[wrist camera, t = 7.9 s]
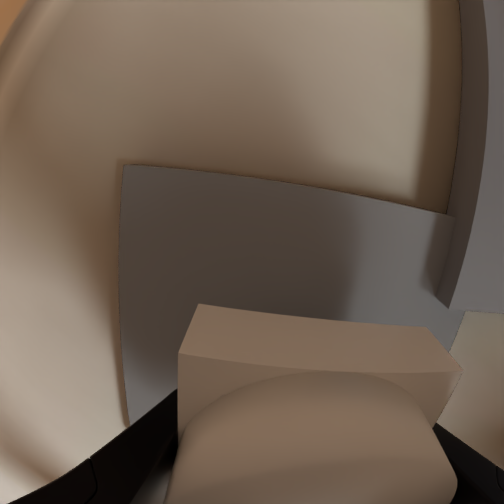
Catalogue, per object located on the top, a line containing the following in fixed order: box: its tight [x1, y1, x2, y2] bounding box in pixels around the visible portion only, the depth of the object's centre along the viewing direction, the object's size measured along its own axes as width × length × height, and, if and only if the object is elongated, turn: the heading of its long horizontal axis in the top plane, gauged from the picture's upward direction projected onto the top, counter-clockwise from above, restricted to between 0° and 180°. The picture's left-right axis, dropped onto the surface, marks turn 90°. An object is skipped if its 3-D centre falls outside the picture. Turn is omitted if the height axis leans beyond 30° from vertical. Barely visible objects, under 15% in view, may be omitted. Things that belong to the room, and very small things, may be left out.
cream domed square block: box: [163, 304, 463, 504], centre depth 6 cm, size 6×6×4 cm
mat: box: [119, 164, 465, 426], centre depth 10 cm, size 11×11×1 cm
